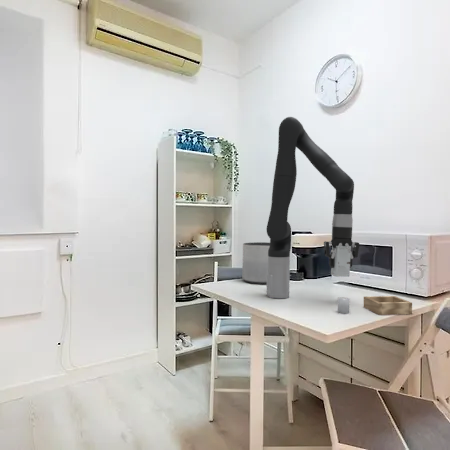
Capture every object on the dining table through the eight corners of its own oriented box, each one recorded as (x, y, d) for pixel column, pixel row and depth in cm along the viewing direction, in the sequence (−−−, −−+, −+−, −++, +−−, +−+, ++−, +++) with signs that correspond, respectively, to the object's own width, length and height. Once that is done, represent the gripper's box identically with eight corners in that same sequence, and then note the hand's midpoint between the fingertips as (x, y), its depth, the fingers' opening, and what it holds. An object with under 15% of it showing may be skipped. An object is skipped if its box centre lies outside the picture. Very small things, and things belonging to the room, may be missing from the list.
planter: (233, 280, 181) (233, 243, 181) (261, 276, 196) (261, 241, 196) (265, 287, 165) (266, 246, 164) (293, 281, 180) (293, 244, 180)
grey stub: (340, 314, 118) (340, 299, 118) (335, 310, 122) (335, 297, 122) (351, 313, 119) (351, 299, 118) (346, 310, 123) (346, 297, 122)
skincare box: (336, 277, 131) (337, 246, 130) (330, 274, 135) (331, 244, 135) (350, 276, 132) (351, 246, 132) (343, 274, 136) (345, 245, 136)
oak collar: (378, 314, 117) (378, 303, 117) (363, 307, 128) (363, 296, 127) (412, 314, 118) (412, 302, 118) (394, 306, 129) (394, 296, 129)
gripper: (328, 225, 129) (326, 269, 129) (364, 226, 130) (362, 269, 131) (321, 225, 136) (319, 266, 137) (355, 226, 137) (353, 266, 138)
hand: (340, 267), depth 134 cm, fingers closed on skincare box, 6 cm apart
